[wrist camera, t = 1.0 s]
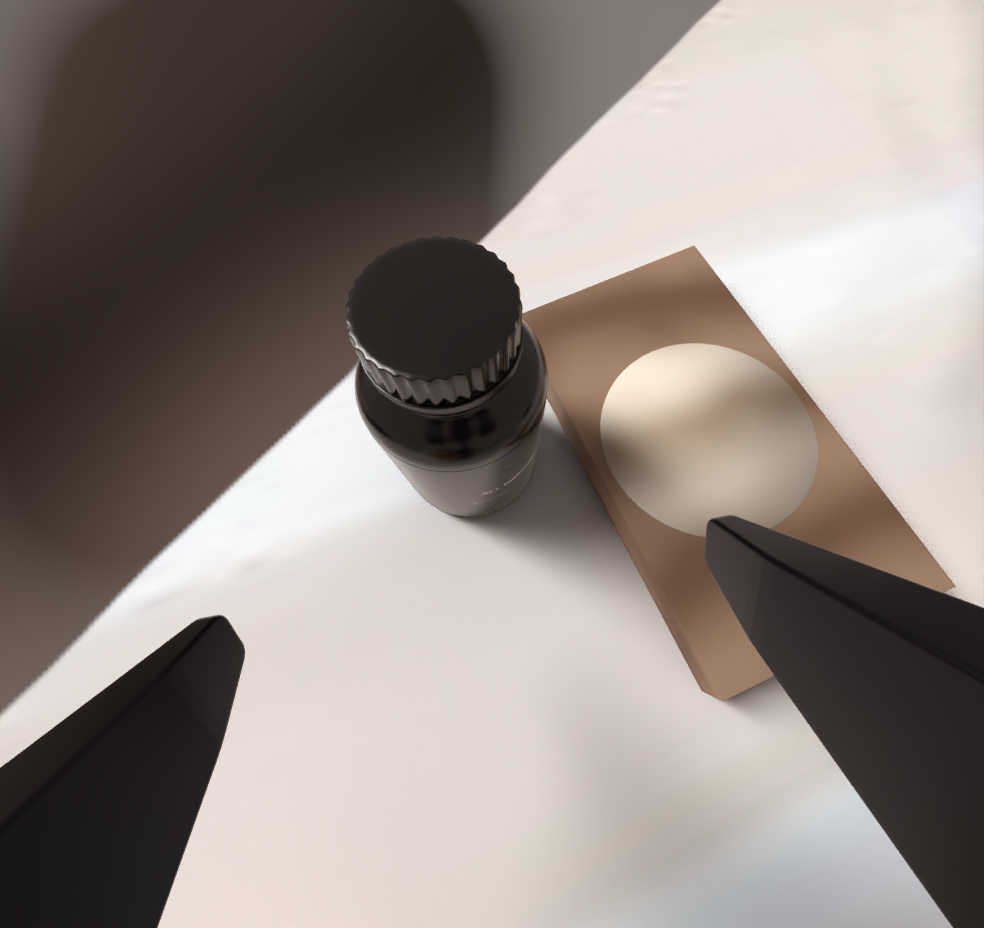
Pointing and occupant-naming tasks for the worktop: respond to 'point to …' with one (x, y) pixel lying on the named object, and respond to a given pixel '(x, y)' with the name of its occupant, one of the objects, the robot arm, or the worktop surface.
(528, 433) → the supplement bottle
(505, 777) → the worktop surface
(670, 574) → the walnut plinth
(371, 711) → the worktop surface
